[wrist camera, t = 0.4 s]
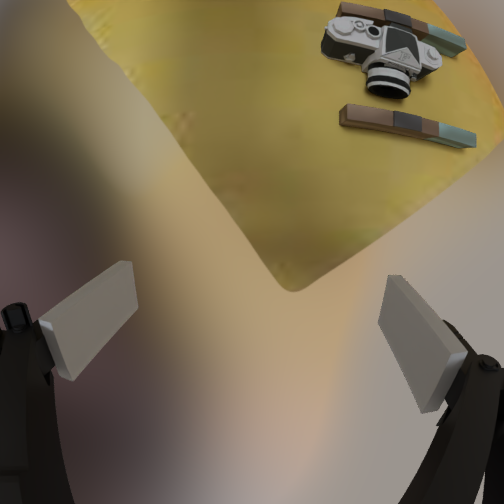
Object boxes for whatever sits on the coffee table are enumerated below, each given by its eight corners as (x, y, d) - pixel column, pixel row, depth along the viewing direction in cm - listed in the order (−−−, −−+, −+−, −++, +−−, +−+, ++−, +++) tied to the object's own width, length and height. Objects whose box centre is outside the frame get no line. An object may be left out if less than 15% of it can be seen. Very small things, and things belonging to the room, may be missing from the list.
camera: (315, 83, 33) (325, 57, 23) (319, 33, 30) (328, -1, 21) (419, 109, 32) (454, 97, 22) (419, 61, 29) (450, 39, 20)
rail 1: (335, 17, 29) (341, 0, 24) (449, 47, 27) (465, 37, 22) (336, 27, 29) (342, 10, 24) (451, 57, 28) (468, 48, 22)
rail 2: (339, 111, 33) (348, 102, 28) (458, 135, 32) (477, 133, 27) (339, 125, 34) (348, 118, 29) (458, 148, 32) (477, 147, 27)
